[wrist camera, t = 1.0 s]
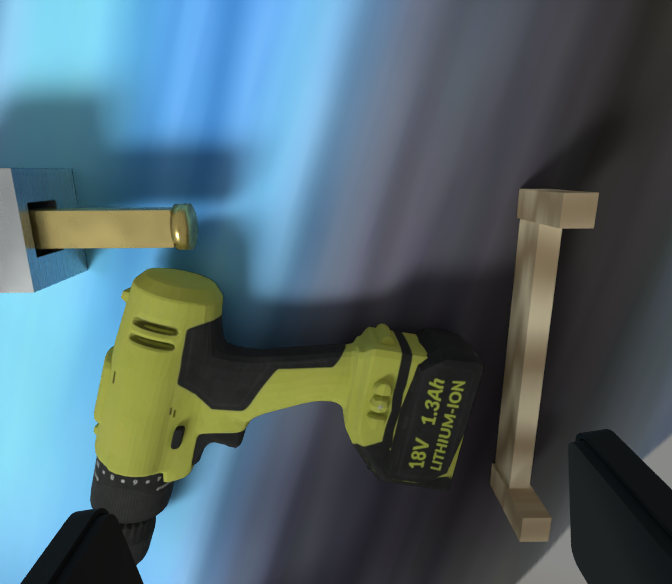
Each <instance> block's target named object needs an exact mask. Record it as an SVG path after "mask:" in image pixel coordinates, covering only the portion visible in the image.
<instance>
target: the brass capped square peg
mask: <svg viewBox="0 0 672 584" xmlns="http://www.w3.org/2000/svg"><path fill="white" fill-rule="evenodd" d="M28 213H29V218H30V224H31V229H32V235H33V240H34V246H35V249H54V248H174V247H176V249H178V250H192V249H194V248H195V246H196V243H197V236H198V224H197V217H196V213H195V210H194V207H193V206H192V205H191V204H174V205H173V207H144V208H36V209H28Z"/></svg>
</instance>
